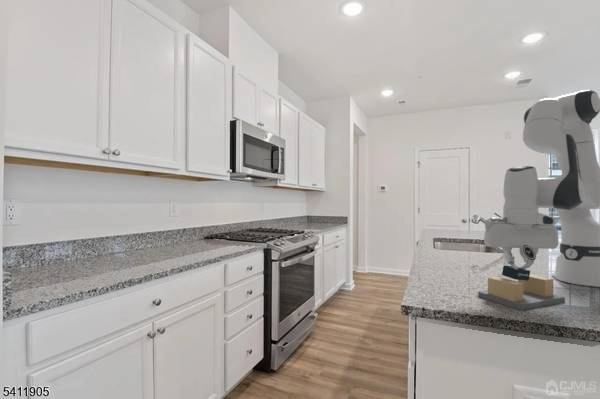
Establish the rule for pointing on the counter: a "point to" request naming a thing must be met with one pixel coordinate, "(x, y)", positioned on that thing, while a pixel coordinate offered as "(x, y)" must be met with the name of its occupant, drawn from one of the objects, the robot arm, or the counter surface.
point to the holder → (522, 292)
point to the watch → (521, 272)
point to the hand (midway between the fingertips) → (519, 262)
